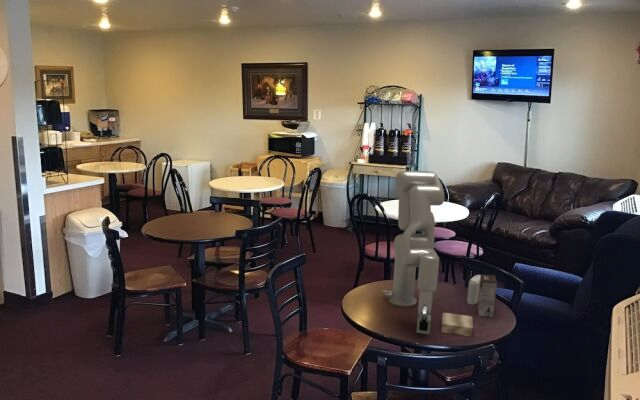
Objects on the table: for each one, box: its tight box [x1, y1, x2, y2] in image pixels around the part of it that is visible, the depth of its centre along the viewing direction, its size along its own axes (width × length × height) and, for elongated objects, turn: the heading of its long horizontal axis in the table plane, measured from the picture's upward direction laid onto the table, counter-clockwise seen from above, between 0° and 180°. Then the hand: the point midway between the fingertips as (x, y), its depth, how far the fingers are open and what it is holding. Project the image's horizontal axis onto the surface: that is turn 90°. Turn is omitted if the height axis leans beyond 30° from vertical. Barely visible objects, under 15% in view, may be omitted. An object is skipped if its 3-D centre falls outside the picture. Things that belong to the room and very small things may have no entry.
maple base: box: [440, 312, 474, 337], centre depth 227 cm, size 12×12×4 cm
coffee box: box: [476, 274, 498, 318], centre depth 243 cm, size 9×6×16 cm
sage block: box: [415, 313, 432, 335], centre depth 223 cm, size 5×5×6 cm
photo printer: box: [466, 274, 481, 306], centre depth 255 cm, size 10×4×12 cm, turn 140°
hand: (424, 325), depth 222 cm, fingers open, 9 cm apart
